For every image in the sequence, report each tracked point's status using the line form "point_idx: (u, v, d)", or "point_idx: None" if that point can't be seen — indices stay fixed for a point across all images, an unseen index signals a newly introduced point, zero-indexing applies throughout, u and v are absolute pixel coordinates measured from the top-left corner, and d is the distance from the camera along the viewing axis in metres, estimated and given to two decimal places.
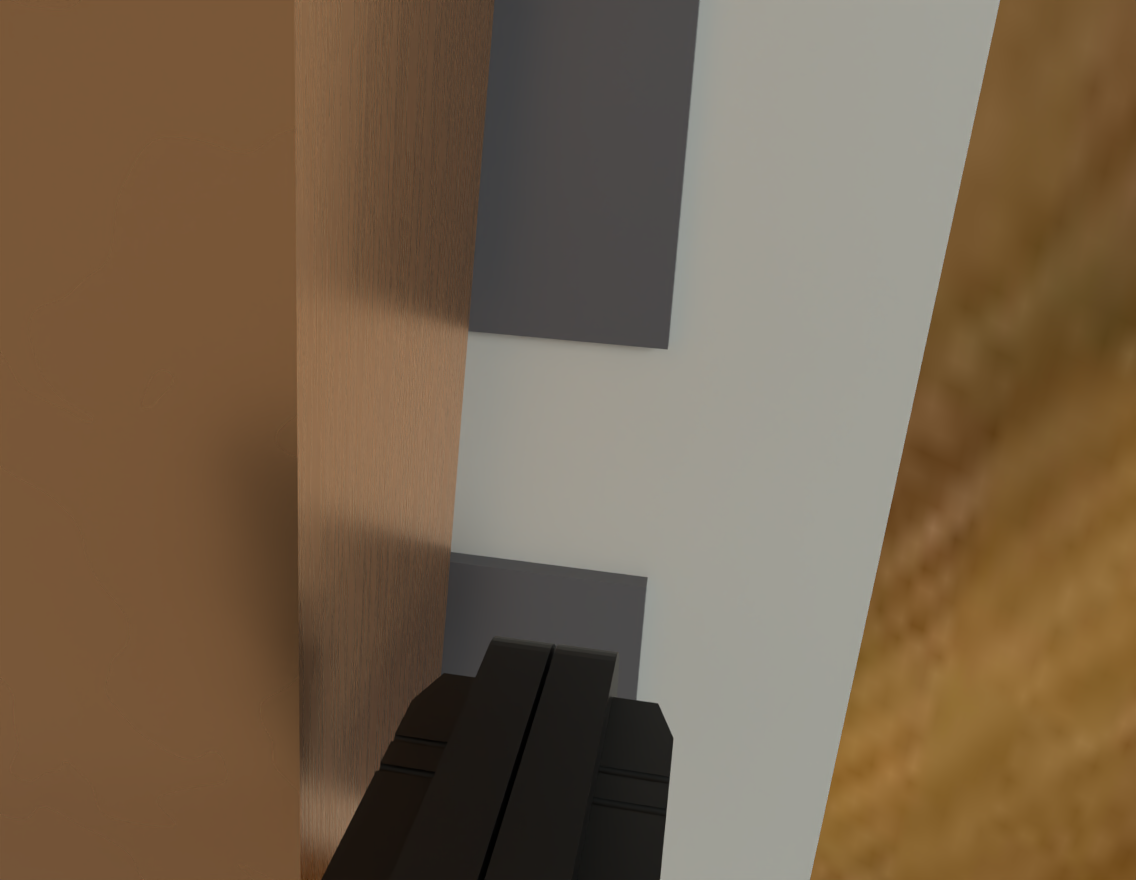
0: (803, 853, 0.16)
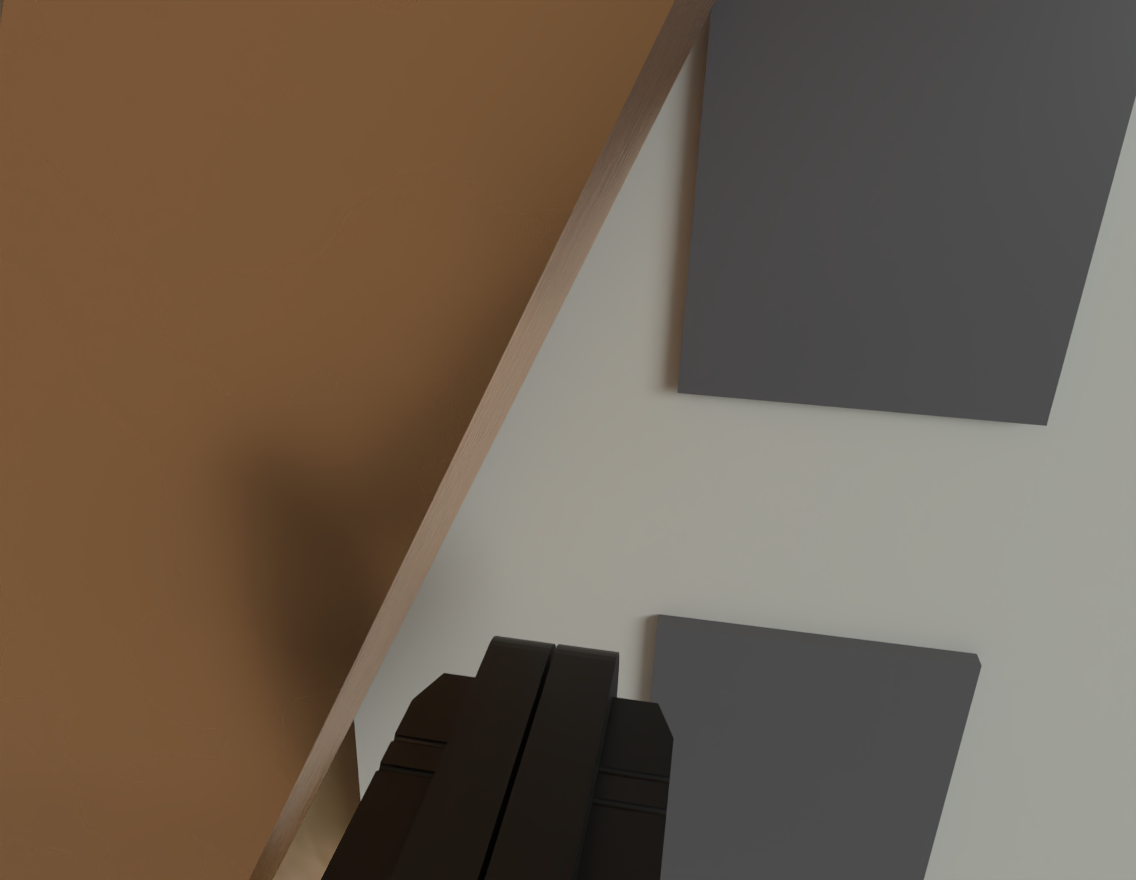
0: None
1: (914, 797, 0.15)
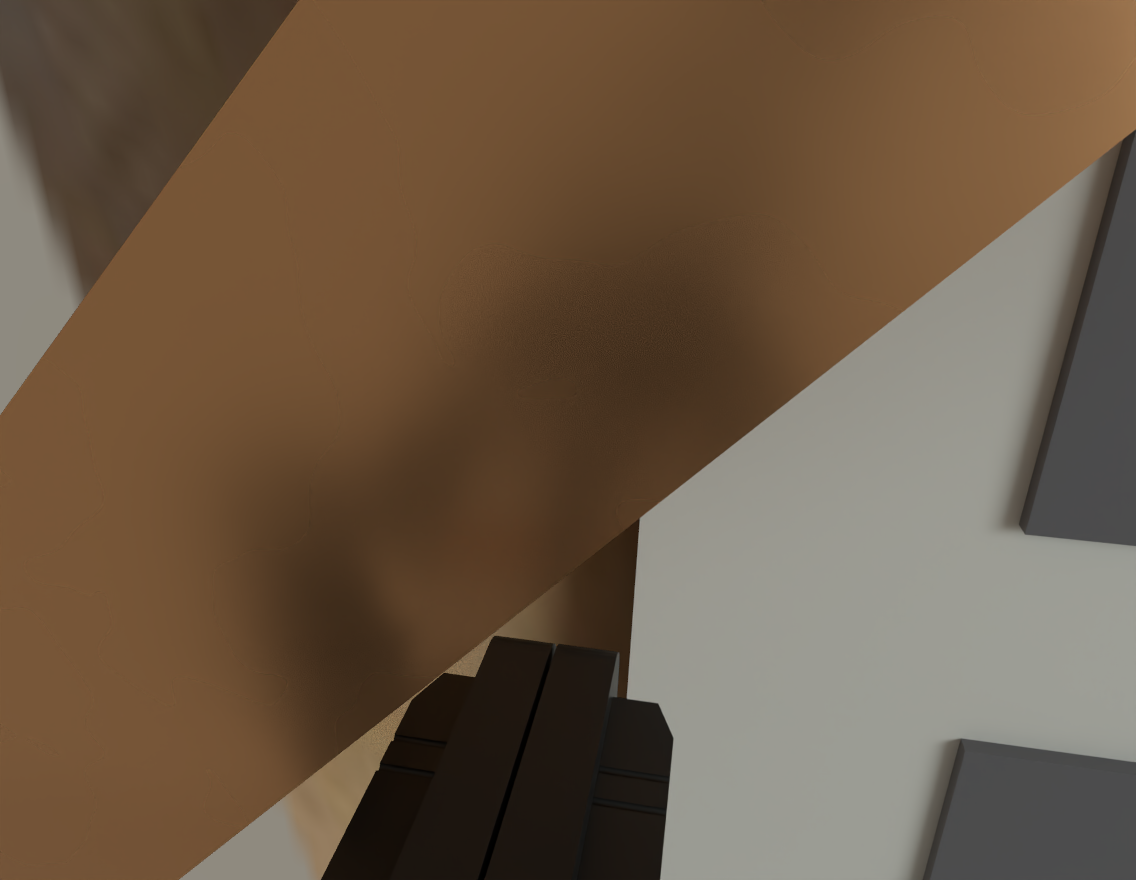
0: None
1: None
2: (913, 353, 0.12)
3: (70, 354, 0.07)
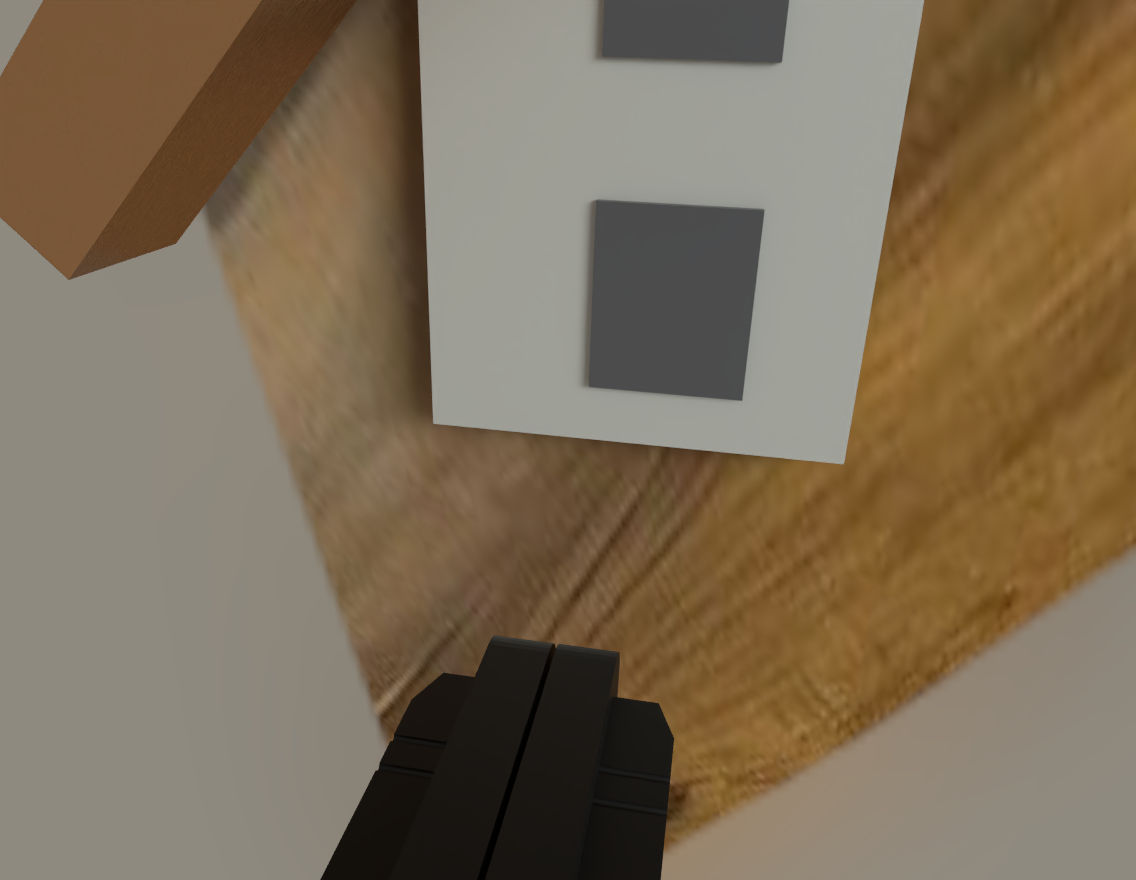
0: (849, 392, 0.28)
1: (737, 302, 0.27)
2: None
3: None
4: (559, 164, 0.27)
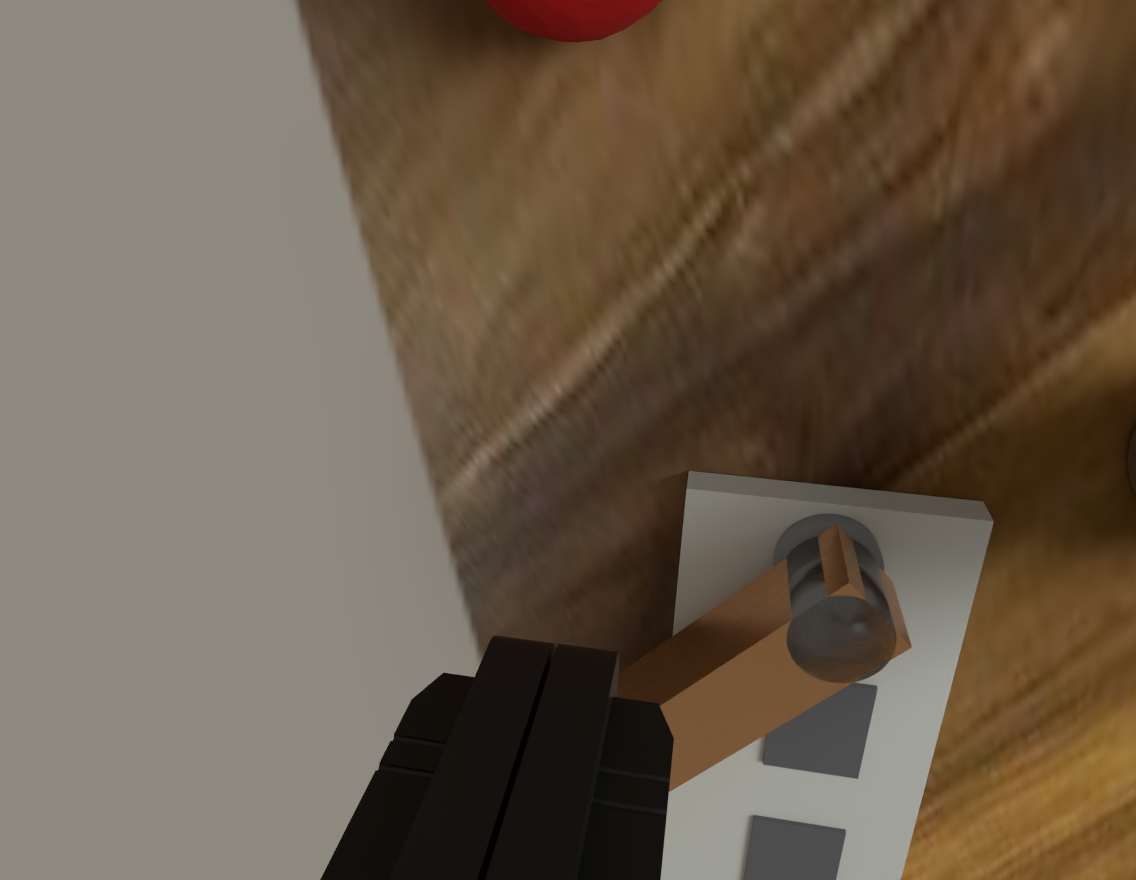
0: None
1: (829, 868, 0.50)
2: None
3: None
4: (734, 798, 0.49)
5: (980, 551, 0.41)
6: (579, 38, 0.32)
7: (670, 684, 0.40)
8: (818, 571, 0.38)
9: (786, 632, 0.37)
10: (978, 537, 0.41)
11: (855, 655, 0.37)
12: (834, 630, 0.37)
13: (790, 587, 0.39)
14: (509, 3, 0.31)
